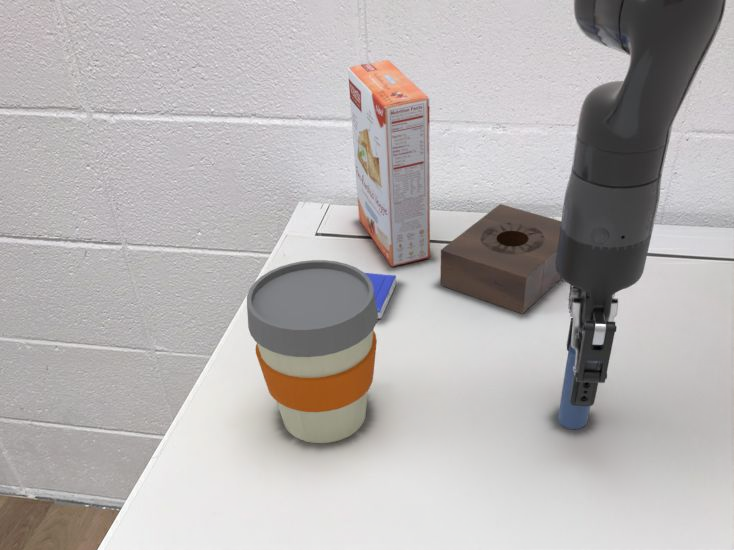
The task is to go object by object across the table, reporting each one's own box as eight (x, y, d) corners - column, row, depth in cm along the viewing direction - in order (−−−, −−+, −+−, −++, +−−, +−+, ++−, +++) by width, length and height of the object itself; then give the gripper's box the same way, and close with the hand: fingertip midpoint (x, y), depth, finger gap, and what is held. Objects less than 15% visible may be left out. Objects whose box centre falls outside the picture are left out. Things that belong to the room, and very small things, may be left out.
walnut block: (497, 238, 110) (500, 203, 106) (577, 263, 104) (583, 227, 100) (440, 285, 102) (440, 249, 99) (522, 314, 97) (526, 277, 93)
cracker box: (356, 222, 115) (345, 65, 100) (395, 213, 116) (391, 57, 101) (388, 269, 106) (382, 104, 91) (431, 259, 107) (432, 94, 92)
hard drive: (283, 299, 99) (380, 309, 97) (303, 265, 105) (396, 273, 102) (285, 310, 101) (380, 320, 98) (305, 275, 106) (396, 284, 103)
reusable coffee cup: (407, 412, 86) (404, 288, 75) (320, 473, 80) (304, 349, 69) (327, 365, 92) (314, 245, 81) (242, 418, 86) (216, 297, 76)
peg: (566, 406, 85) (578, 335, 78) (592, 417, 83) (606, 345, 77) (552, 422, 83) (563, 351, 77) (578, 433, 82) (592, 361, 75)
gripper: (663, 267, 62) (624, 425, 74) (644, 183, 72) (612, 335, 83) (564, 264, 63) (541, 421, 75) (559, 183, 73) (539, 333, 84)
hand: (579, 376), depth 79 cm, fingers open, 8 cm apart
